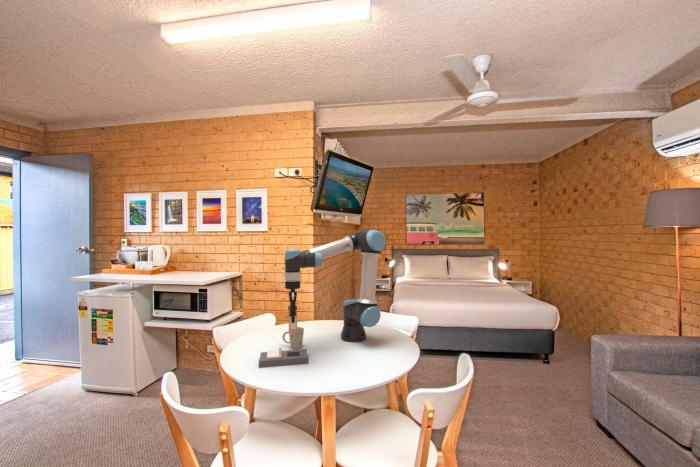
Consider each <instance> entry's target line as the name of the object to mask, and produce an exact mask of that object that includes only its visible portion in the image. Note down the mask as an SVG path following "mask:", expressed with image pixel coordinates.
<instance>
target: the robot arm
mask: <svg viewBox="0 0 700 467" xmlns="http://www.w3.org/2000/svg"><path fill="white" fill-rule="evenodd" d="M386 243H387V242H386V237H385V235H384V234H383V232H382V231H379V230H377V229H375V230H374V229H370V230H369V229H368V230H359V231H356V232H353V233H351V234H348V235H346V236H344V238H341V239H337V240H335V241H332V242H328V243H325V244H321V245H319V246H315V247H311V248H309V249H306V250H302V251H301V249H298V248H297V249H286V250H285V252H284V273H283V276H284V280H285V281H284V288H285V290H289V291H288V299H289V306H290V315H289V314H288V317H289V316H290V329H296V306H297V305H296V302H297V295H298V292H297V291H296V290H299V289H300V288H301V281H300V280H301V269H304V268H305V269H306V268H307V269H308V268H320V267H321V266H323V263H324V259H326V258H329V257H332V256H336V255H338V254H341V253H345V252H347V251H348V252H353V251H360V255H361V256H362V263H361V264H362V266H361V267H362V268H361V280H360V290H359V298H353V299H352V298H351V299H346V300H344V301H343V306H342V308H343V326H342V330H341V332H340V340H342V341H344V342H351V343H355V342H356V341H358V342H362V340H363V341H365V340H366V339H367V333H366V330H365V327H367V328H373V327H375V326H376V325H377V324H378V323H379V322H380V319H381V311H380V309H379V308H378V301H377V300H376V289H377V275H378V264H379V257H380V256H381V255H382V250H384V248H386ZM364 339H365V340H364ZM356 343H357V342H356Z"/></svg>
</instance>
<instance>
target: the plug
mask: <svg viewBox="0 0 700 467" xmlns="http://www.w3.org/2000/svg"><path fill="white" fill-rule="evenodd" d="M287 307H288V309H287V310H288V331H289V332H297V327H298V305H296V329H290V316H289V315H290V305H288V306H287Z"/></svg>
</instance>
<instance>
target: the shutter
mask: <svg viewBox="0 0 700 467" xmlns="http://www.w3.org/2000/svg"><path fill="white" fill-rule="evenodd" d="M282 346H283V344H282V343H279V345H278V350H276V349H275V350H267V352H268V353H267V359H274V358H281V356H282V351H283V348H282Z"/></svg>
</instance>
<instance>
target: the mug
mask: <svg viewBox="0 0 700 467" xmlns="http://www.w3.org/2000/svg"><path fill="white" fill-rule="evenodd" d="M304 333H305V328H304V327H300V326H297V332H289V330H287V331H284V333H283V334H282V340H283V342H284V343H286V344H289V345H290V348H291V350H300V349H302V347H303V342H304V341H303V340H304ZM287 334H289V335H288V336H289V341H287V340H286V338H285V336H286V335H287Z"/></svg>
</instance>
